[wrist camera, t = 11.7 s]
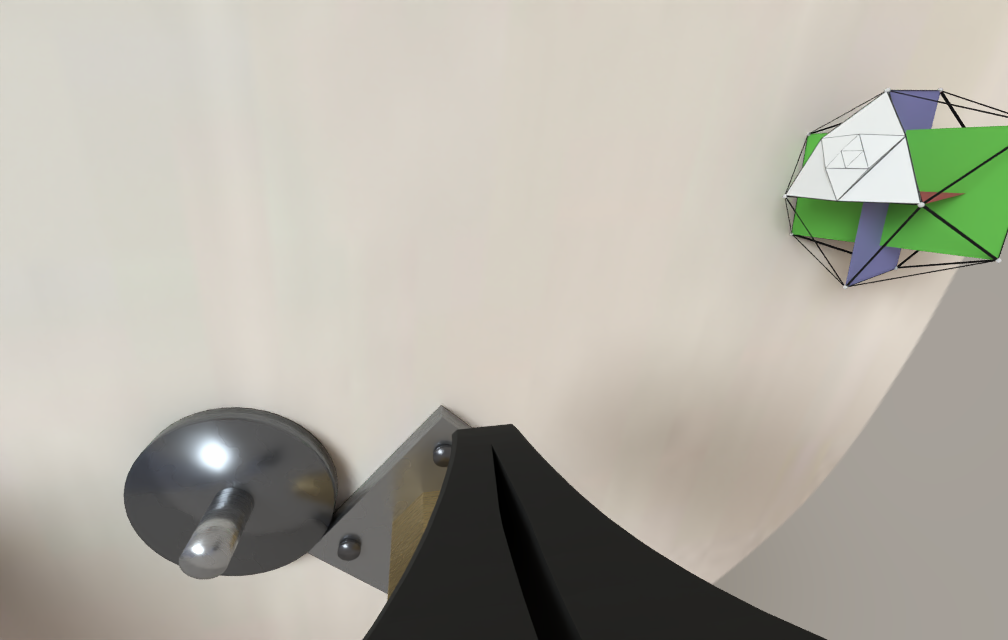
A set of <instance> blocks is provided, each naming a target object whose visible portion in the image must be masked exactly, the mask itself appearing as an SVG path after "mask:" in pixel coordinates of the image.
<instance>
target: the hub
mask: <svg viewBox="0 0 1008 640" xmlns="http://www.w3.org/2000/svg"><path fill="white" fill-rule="evenodd" d="M468 428H471V427H470V426H469V425H467V424H466V423H465V422H463V421H462V420H461V419H459V418H458V417H457V416H455V415H454V414H452V413H451V412H450V411H448V410H447V409H446V408H444V407H443V406H442V405H441V406H440V407H439V408H438V409H437V410H436V411H435V412H434V413H433V414H432V415H431V416H430V417H429V418H428V419H427V420H426V421H425V422H424V423H423V424H422V425H421V426H420V427H419V428H418V429H417V430H416V431H415V432H414V433H413V434H412V435H411V436H410V437H409V438H408V439H407V440H406V441H405V442H404V443H403V444H402V445H401V446H400V447H399V448H398V449H397V450H396V451H395V452H394V453H393V454H392V455H391V456H390V457H389V458H388V459H387V461H386V462H385V463H384V464H383V465H382V466H381V467H380V468H379V469H378V470H377V471H376V472H375V473H374V474H373V475H372V476H371V477H370V478H369V479H368V480H367V481H366V482H365V483H364V484H363V485H362V486H361V487H360V488H359V489H358V490H357V491H356V492H355V493H354V494H353V495H352V496H351V497H350V498H349V499H348V500H347V501H346V502H345V503H344V504H343V505H342V506H341V507H340V508H339V509H338V510H337V511H336V512H335V513H334V514H333V515H332V518H331V521H330V524H329V526H328V528H327V530H326V532H325V533H324V535H323V536H322V538H321V539H320V540H319V541H318V542H317V544H316V545H315V546H314V547H313V548H311V549H310V550H309V551H308V553H309V554H311V555H313V556H315V557H317V558H318V559H320V560H322V561H324V562H326V563H328V564H330V565H332V566H334V567H336V568H338V569H340V570H342V571H344V572H346V573H348V574H350V575H352V576H354V577H356V578H357V579H359V580H361V581H363V582H365V583H367V584H369V585H371V586H373V587H375V588H377V589H379V590H381V591H383V592H385V593H387V594H388V585H389V570H390V554H391V538H392V523H393V521H394V520H396V519H397V518H398V517H399V516H400V515H401V514H402V513H403V512H404V511H405V510H406V509H407V508H408V507H409V506H410V505H411V504H412V503H413V502H414V501H415V500H416V499H417V498H418V497H419V496H420V495H421V494H422V493H423V492H431V491H439V490H441V487H442V484H443V481H444V478H445V474H446V471H447V467H448V463H449V459H450V454H451V448H452V434H453V433H454V432H455V431H456V430H458V429H468Z"/></svg>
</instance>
